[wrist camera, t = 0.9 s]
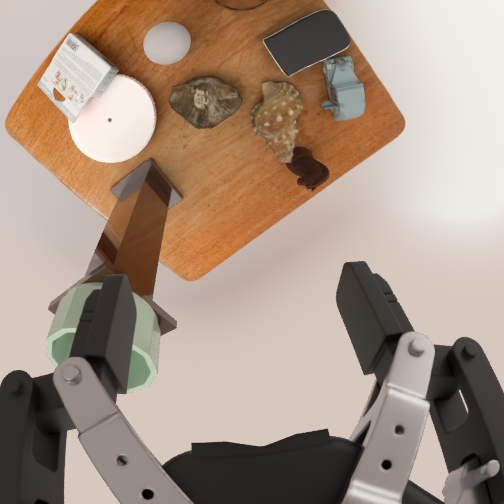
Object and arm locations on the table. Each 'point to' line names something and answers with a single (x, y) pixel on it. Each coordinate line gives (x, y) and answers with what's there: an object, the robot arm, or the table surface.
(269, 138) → the seashell
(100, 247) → the green pedestal cup
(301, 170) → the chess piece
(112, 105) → the plastic lid
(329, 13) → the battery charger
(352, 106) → the toy car
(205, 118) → the fossilized seashell
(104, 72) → the ink box
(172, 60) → the light bulb
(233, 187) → the table surface
